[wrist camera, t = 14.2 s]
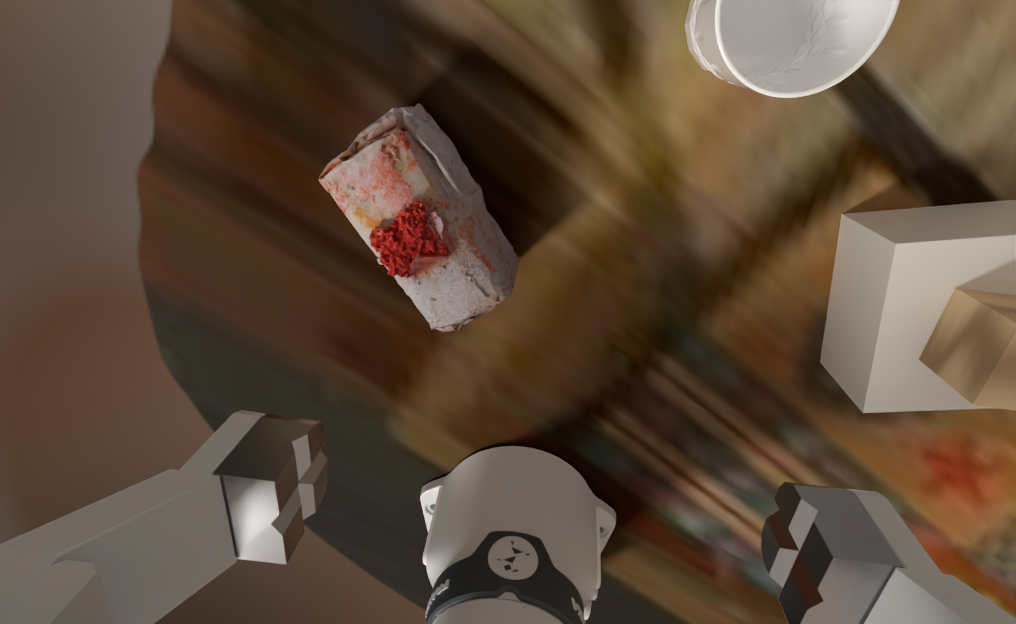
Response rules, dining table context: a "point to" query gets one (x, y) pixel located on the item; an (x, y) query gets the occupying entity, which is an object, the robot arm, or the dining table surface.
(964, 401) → the white square block
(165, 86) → the dining table surface
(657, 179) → the dining table surface
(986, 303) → the oak cube
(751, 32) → the white cup
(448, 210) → the food item
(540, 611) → the robot arm
